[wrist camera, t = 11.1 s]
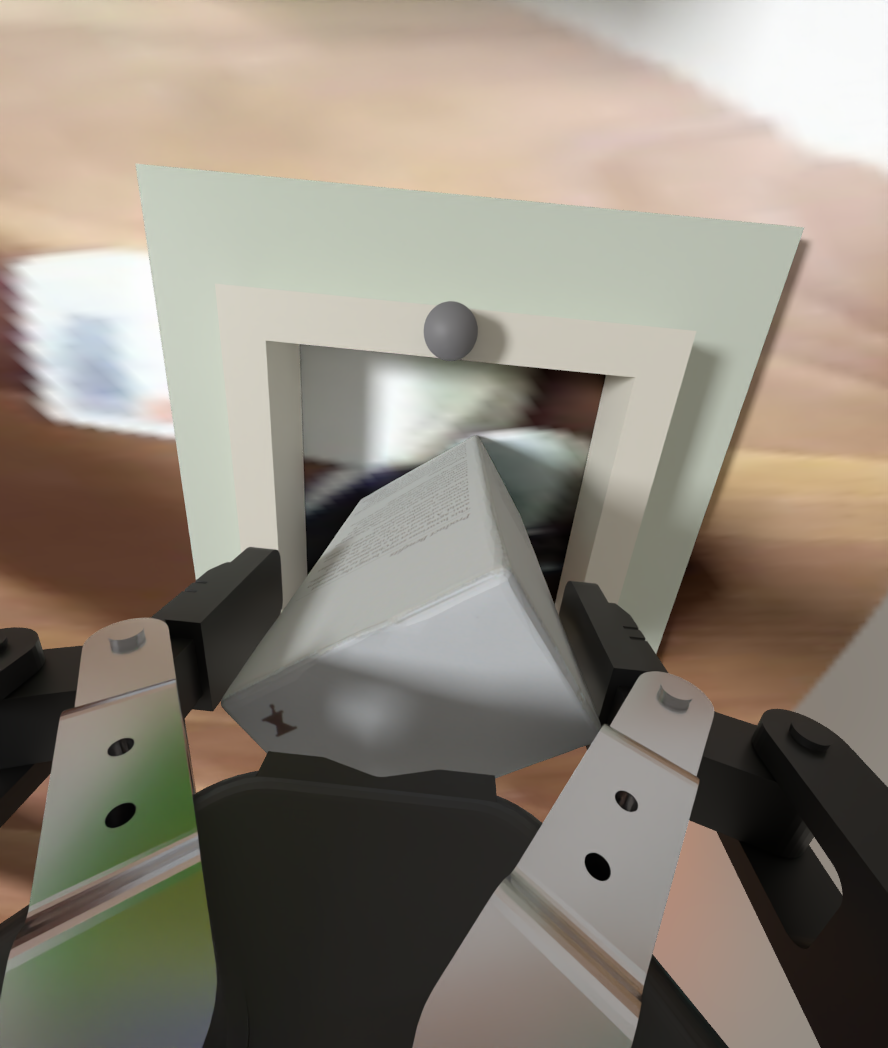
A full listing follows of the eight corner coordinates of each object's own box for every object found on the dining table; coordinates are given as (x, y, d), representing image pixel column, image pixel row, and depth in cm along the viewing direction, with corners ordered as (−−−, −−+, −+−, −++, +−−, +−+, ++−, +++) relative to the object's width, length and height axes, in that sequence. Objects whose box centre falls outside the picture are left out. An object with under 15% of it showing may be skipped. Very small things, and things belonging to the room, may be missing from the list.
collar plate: (219, 673, 23) (171, 734, 19) (152, 173, 15) (45, 111, 11) (624, 717, 23) (655, 788, 19) (786, 234, 14) (898, 191, 11)
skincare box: (409, 572, 20) (338, 843, 9) (359, 497, 19) (202, 703, 8) (525, 514, 19) (614, 748, 7) (480, 429, 17) (504, 559, 6)
